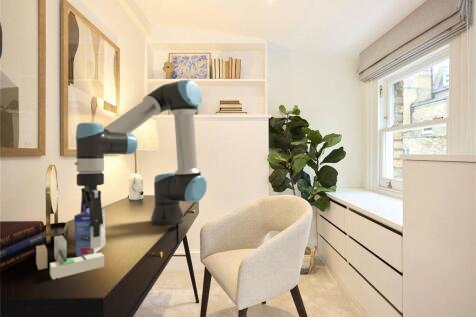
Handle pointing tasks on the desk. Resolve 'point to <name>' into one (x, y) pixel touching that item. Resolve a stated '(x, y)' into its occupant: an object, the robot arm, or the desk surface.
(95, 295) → the desk surface
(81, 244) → the ink cartridge box
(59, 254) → the block
